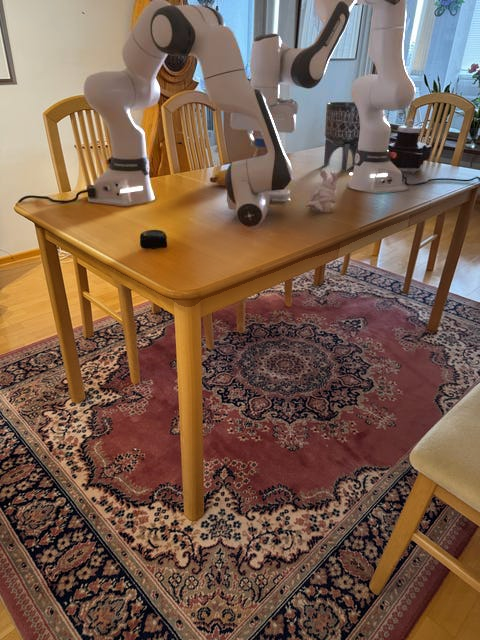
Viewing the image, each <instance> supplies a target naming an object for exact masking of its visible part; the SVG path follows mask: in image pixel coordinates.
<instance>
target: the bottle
mask: <svg viewBox="0 0 480 640" xmlns="http://www.w3.org/2000/svg"><path fill="white" fill-rule="evenodd" d="M267 153H268V150H267V147H258V146H256V149H255V152H254V154H253V156H252V158H254V157H259V156H263V155H266V154H267Z"/></svg>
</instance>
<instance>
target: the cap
mask: <svg viewBox="0 0 480 640" xmlns="http://www.w3.org/2000/svg"><path fill="white" fill-rule="evenodd" d="M254 139H255V146H254V147H257V146H258V147H266V144H265V142H264V139H263V136H255V137H254Z"/></svg>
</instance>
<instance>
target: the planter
mask: <svg viewBox="0 0 480 640" xmlns="http://www.w3.org/2000/svg"><path fill="white" fill-rule="evenodd" d="M324 125H325V126H324V139H325V144H324V156H323V157H324V158H323V165H325V166H328V165H330V163H331V158H332V156H333V154H334V153H335V151H336V150H337V149H340V148H341V150H342V153H341V166H340V170H341V172H345V171H347V167H348V166H347V165H348V159H349V152H350V154H351V157H352V158H351V159H352V160H351V161H352V166H353V167H354V166H355V155H356V149H357V148H358V142H359V134H360V119H359V113H358V110H357V107H356V105H355V103H354V102H353V101H333V102H327V103H326V109H325V124H324Z"/></svg>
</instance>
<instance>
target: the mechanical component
mask: <svg viewBox="0 0 480 640" xmlns="http://www.w3.org/2000/svg"><path fill="white" fill-rule="evenodd" d="M414 124H415V119H407V121H406V125H399V126H398V127H397V133H396V139H395V142H393V143H392V142H391V143H389V145H388V151H390V152H395V154H397V156H396V157H395V158H392V157H390V161H391V162H392V163H393V164H394V165H395V166H396V167H397V168H398V169H399V170H400V171H401V172H410V174H415V173H416V171H419V170H420V169H421V168H423V166H424V162H425V161H428V160H430V157H431V154H432V148H433V146H432V145H429V144H427V143H425V142H420V141H419V137H420V133H421V129H422V128H421V127H420V126H416V125H414Z"/></svg>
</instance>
